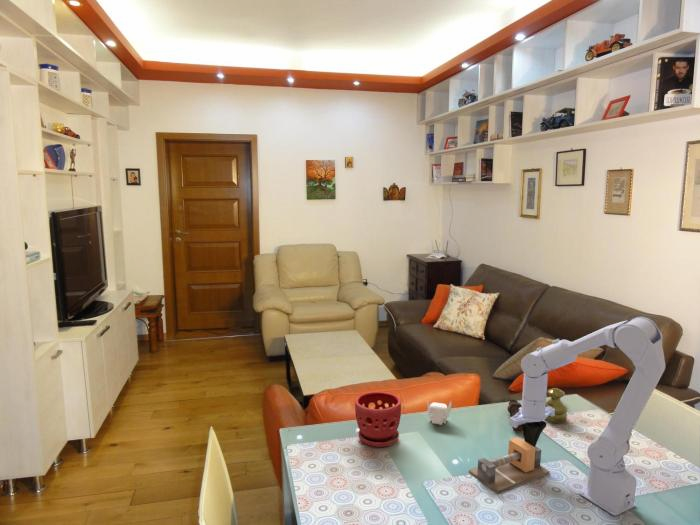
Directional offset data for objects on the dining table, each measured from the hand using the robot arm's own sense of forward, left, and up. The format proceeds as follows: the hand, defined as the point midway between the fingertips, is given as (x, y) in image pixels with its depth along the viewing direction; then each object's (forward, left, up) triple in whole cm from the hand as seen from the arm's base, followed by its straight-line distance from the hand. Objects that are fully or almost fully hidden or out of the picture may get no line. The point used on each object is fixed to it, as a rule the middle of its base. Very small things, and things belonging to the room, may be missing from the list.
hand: (530, 446), depth 131 cm
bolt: (+20, -17, -6) cm, 27 cm away
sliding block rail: (0, +7, -5) cm, 9 cm away
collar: (0, +3, -5) cm, 6 cm away
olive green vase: (+15, -28, -6) cm, 32 cm away
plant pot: (+30, +28, -6) cm, 41 cm away
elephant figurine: (+30, +6, -6) cm, 31 cm away
